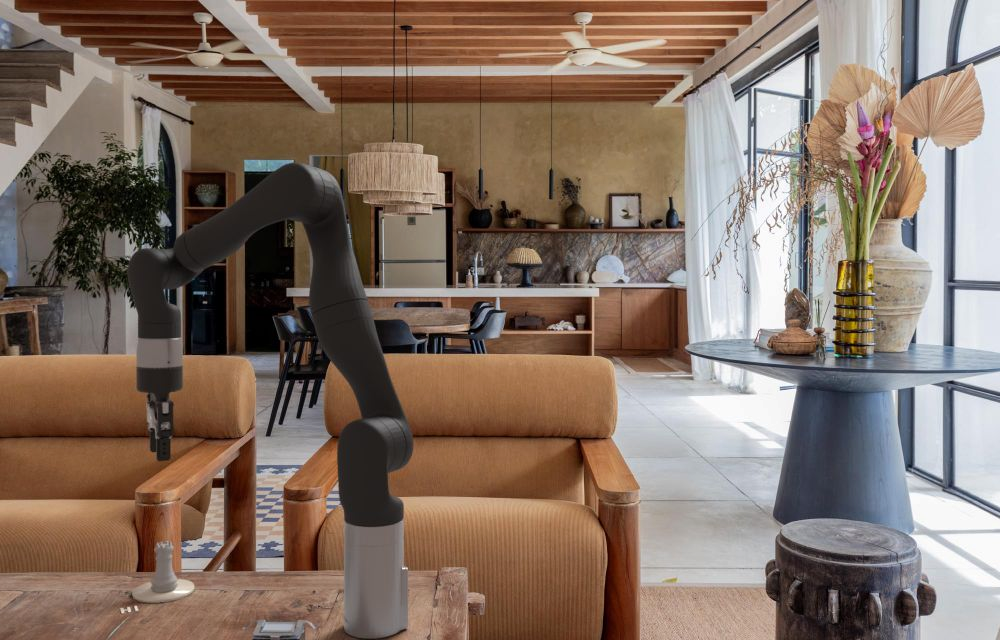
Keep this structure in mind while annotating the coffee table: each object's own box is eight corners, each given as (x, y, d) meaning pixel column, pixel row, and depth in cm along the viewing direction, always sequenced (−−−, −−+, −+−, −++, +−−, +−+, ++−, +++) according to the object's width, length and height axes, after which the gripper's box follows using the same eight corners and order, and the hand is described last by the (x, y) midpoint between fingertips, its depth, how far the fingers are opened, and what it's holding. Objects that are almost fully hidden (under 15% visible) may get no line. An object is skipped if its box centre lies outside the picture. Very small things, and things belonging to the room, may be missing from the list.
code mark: (121, 613, 139) (121, 613, 139) (120, 608, 141) (120, 608, 141) (138, 611, 140) (138, 610, 140) (137, 606, 143) (136, 605, 143)
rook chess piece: (168, 594, 146) (168, 548, 146) (144, 592, 147) (144, 546, 147) (183, 585, 151) (182, 540, 150) (159, 583, 152) (159, 538, 151)
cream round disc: (189, 578, 156) (189, 575, 156) (198, 596, 147) (198, 593, 147) (129, 587, 151) (129, 584, 151) (135, 606, 142) (135, 603, 142)
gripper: (189, 366, 145) (189, 462, 146) (176, 359, 158) (176, 447, 158) (141, 368, 142) (141, 466, 142) (131, 360, 154) (132, 450, 155)
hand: (159, 456), depth 150 cm, fingers open, 8 cm apart
